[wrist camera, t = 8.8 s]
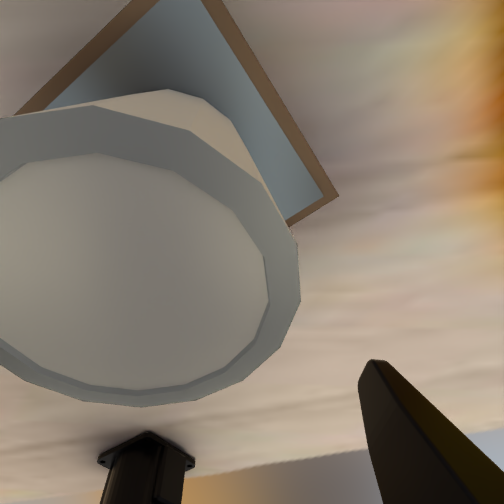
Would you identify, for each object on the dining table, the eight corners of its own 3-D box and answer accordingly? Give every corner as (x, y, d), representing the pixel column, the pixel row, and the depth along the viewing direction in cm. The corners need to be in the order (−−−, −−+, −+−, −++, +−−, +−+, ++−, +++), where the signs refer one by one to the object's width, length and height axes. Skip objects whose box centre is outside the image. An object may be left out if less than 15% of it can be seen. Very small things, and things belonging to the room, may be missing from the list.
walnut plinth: (181, 246, 20) (165, 306, 16) (52, 113, 16) (-19, 143, 12) (314, 158, 18) (341, 199, 13) (202, -27, 14) (187, -58, 9)
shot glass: (30, 167, 12) (-164, 297, 6) (164, 10, 10) (66, -29, 4) (178, 282, 15) (145, 445, 9) (305, 181, 13) (371, 306, 7)
